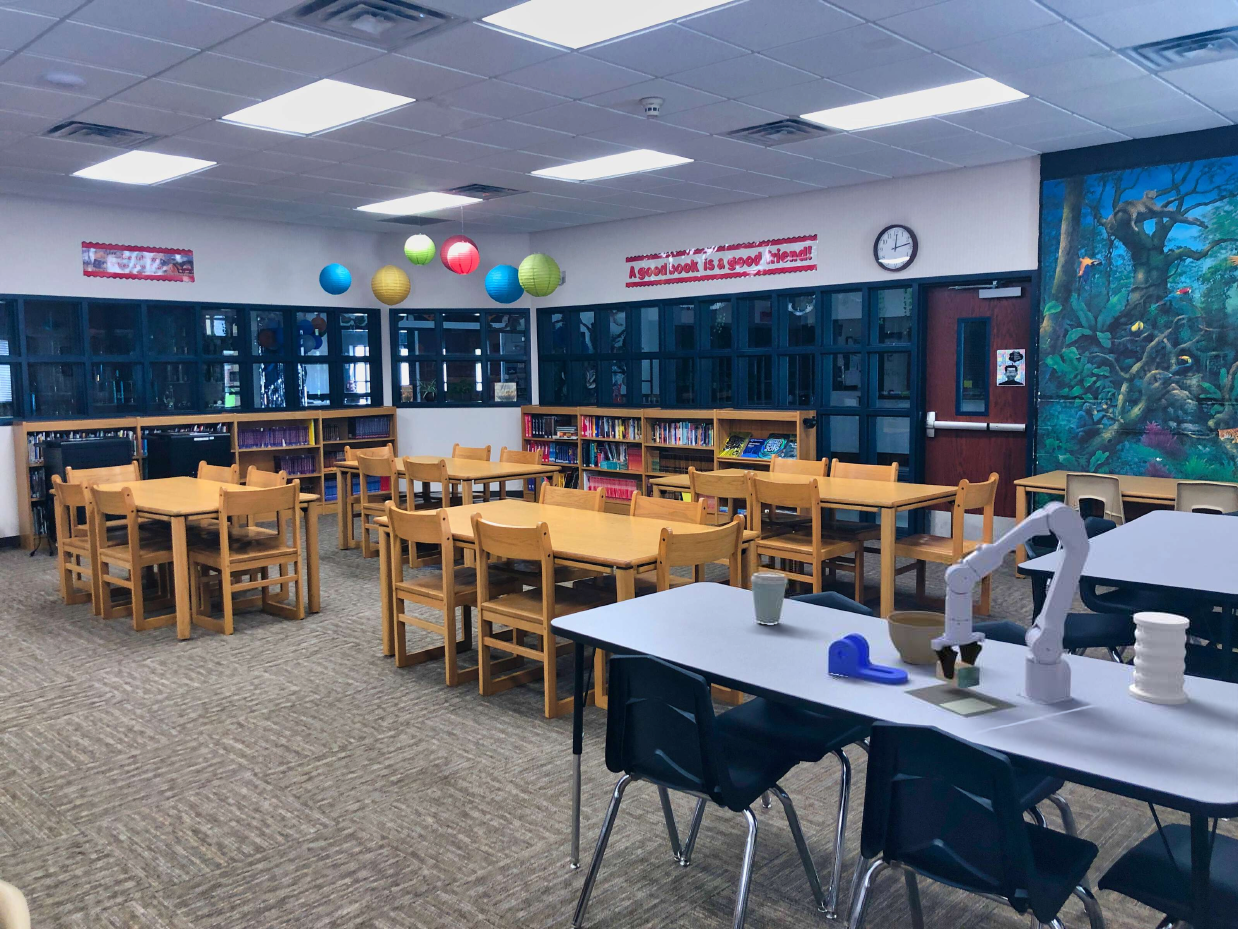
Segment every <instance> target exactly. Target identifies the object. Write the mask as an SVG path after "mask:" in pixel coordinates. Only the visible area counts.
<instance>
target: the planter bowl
mask: <svg viewBox="0 0 1238 929" xmlns="http://www.w3.org/2000/svg"><path fill="white" fill-rule="evenodd" d="M886 620H887V625H888V626H887V628H888V629H887V630H888V634H889V637H890V641H891V642H892V644H893V647H894V648H895V650H896V651H897V652H898V654H899V656H900V660H901V659H902V660H901V661H903V662H905V661H906V662H905V663H908V662H910V663H909V664H911V663H912V665H932V664H937V662H938V661H940V660H939V658H938V656H937V654H936V652H935V651H934V649H932V648H931V640H934V639H937V638H939V637H942V636H943V633H945V614H942V613H939V612H931V611H923V610H921V611H917V610H912V611H909V610H907V611H898V612H893V613H890V614H889V615H887V617H886Z"/></svg>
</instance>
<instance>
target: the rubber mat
mask: <svg viewBox="0 0 1238 929" xmlns="http://www.w3.org/2000/svg"><path fill="white" fill-rule="evenodd" d="M903 693H904V694H907V695H910V696H911V697H912V696H913V697H914V698H917V699H920V700H921V701H924V702H927V703H930V704H932V705H934V706H936V707H939V708H942V709H945V710H947V711H949V712H951V713H954V714H956V715H959V716H962V717H963V718H971V717H977V716H981V715H986V714H989V713H995V712H998V711H1003V710H1008V709H1012V708H1016V707H1018V706H1017V705H1016V704H1013V703H1009V702H1007V701H1004V700H1002V699H999V698H996V697H993V696H991V695H988V694H986V693H982V692H979V691H977V690H974V689H971V688H970V687H968V688H960V687H958V686H955V685H952V684H950V683H947V682H944V683H941V684H936V685H931V686H926V687H921V688H916V689H915V688H914V689H910V690H904V691H903Z"/></svg>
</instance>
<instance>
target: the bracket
mask: <svg viewBox="0 0 1238 929" xmlns="http://www.w3.org/2000/svg"><path fill="white" fill-rule="evenodd" d="M827 653H828V654H827V657H828V660H827V661H828V662H827V667H828V668H827V674H828V673H833V674H839V675H843V676H848V677H847V678H849V677H850V678H854V679H858V680H866V681H868V682H869V681H870V682H876V683H880V684H886V685H901V684H905V683H907V682H908V675H909V674H908V672H907V671H906V670H903V669H901V668H896V667H892V666H891V667H890V666H886V665H880V664H875V663H872V662H871V659H870V645H869V642H868V641H867V639H866V638H865V637H864V636H863V635H862V634H859V633H855V632H854V633H850V634H849V633H848V635H845V636H844V637H843V638H840V639H838V640H836V641H833V642H832V643H831V644H830V646H829V648H828V652H827Z"/></svg>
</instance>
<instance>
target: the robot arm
mask: <svg viewBox="0 0 1238 929" xmlns="http://www.w3.org/2000/svg"><path fill="white" fill-rule="evenodd" d="M1050 531H1051V532H1052V533H1054V534H1055V536H1056V538H1057V539H1058V541H1059V542H1060V544H1061V546H1062V551H1061V553H1060V557H1059V559H1058V562H1057V566H1056V568H1055V572H1054V574H1053V577H1052V580H1051V582H1050V585H1049V589H1048V592H1047V595H1046V598H1045V600H1044V603H1043V606H1042V609H1041V612H1040V614H1038V616H1037V617H1036V618H1035V620H1034V623H1033V625H1032V626H1031V627H1030V628H1029V629H1027V631H1026V634H1025V635H1024V639H1025V643H1026V646H1027V647H1028V648H1029V650H1028V652H1027V653H1026V655H1025V673H1024V674H1025V678H1024V679H1025V680H1024V691H1020V692H1016V693H1015V695H1016V696H1019V697H1021V698H1024V699H1027V700H1030V701H1033V702H1036V703H1038V704H1041V705H1045V706H1047V705H1051V704H1055V703H1059V702H1063V701H1068V700H1073V699H1074V697H1073V696H1072V695H1071V683H1072V682H1071V681H1072V680H1071V679H1072V678H1071V677H1072V670H1071V666H1070V664H1069V663H1068V661H1067V660H1066V659H1065V658H1063V657H1062V655H1063V654H1064V653H1063V652H1064V646H1063V638H1064V636H1065V621H1066V618H1067V615H1068V613H1069V610H1070V607H1071V604H1072V602H1073V599H1074V595H1075V592H1076V590H1077V587H1078V586H1079V585H1078V583H1079V581H1080V579H1081V576H1082V573H1083V570H1084V567H1085V564H1086V562H1087V559H1088V555H1089V552H1090V550H1091V544H1090V541H1089V538H1088V534H1087V530H1086V528H1085V520H1084V519H1083V517H1081V515H1080V514H1079V513H1078V511H1077V510H1076V509H1074V508H1072V507H1071V506H1068V505H1067V504H1065V503H1064V502H1062V501H1058V500H1057V501H1056V500H1054V501H1050V502H1048V503H1046V504H1045V505H1044V506H1043V507H1042V508H1038V509H1037V510H1035V511H1034V512H1032V513H1031V514H1030V515H1029V516H1027V517H1026V518H1025V519H1024V520H1022V521H1021V522H1020V523H1019V524H1017V525H1016V526H1014V528H1012V529H1011V530H1010V531H1008V532H1007V533H1006V534H1005V535H1003V536H1002V537H1001V538H1000V539H998V540H997V541H996V542H995V543H983V544H982V545H980V544H977V545H976V546H975V547H974V549H975V550H974V551H972V553H970V554H969V555H967V556H966V557H964V558H963V559H962V558H959V559H958V560H957V563H956V564H952V565H951V566H949V567H948V568H947V569H946V571H945V573H944V576H943V577H944V578H943V579H944V582H945V583H946V584H947V586H946V590H945V593H946V597H945V612H944V613H945V614H944V615H945V633H943V636H942V637H939V638H937V639H934V640H931V648H932V649H934V651H935V652H936V654H937V656H938V658H939V661H940V663H941V666H942V670H943V674H944V677H945V678H947V679H950V680H951V679H953V677H954V667H955V661H956V660H957V657H958V654H959V653H960V659H961V660H960V661H961V662H964V663H967V664H970V665H973V666H975V663H976V660H977V659H978V657H979V655H980V653H981V652H982V650H983V645H981V644H979V643H985V641H986V638H985V636H986V634H985V633H984V632H980V631H977V632H973V598H972V594H973V593H972V591H973V589H974V588H975V585H976V582H977V581H981V580H982V579H983V578H984V577H986V576H987V575H989V574H990V573H991V572H993V571H994V570H996V569H997V568H998V567H1000V566H1001V565H1002V564H1003V563H1004V561H1003V560H1004V556H1006V555H1008V554H1009V553H1010V552H1011V551H1013V550H1014V549H1016V548H1017V547H1020V545H1022V544H1023V543H1025V542H1027V541H1029V539H1031V538H1033V537H1034V536H1049V535H1051V532H1050ZM957 646H958V649H959V651H957V650H954V648H953V647H957Z"/></svg>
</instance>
